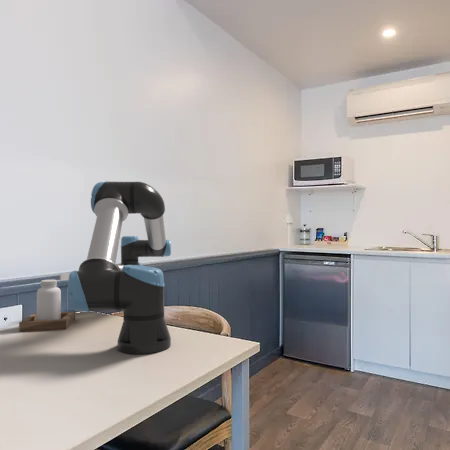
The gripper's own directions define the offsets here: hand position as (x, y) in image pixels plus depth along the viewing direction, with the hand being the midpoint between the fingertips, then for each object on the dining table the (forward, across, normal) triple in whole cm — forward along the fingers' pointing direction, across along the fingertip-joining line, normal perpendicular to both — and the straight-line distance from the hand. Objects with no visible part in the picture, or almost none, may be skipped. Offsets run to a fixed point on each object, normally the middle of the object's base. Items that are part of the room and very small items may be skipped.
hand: (72, 278), depth 154 cm
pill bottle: (+10, 0, -15) cm, 18 cm away
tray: (+10, 0, -16) cm, 19 cm away
